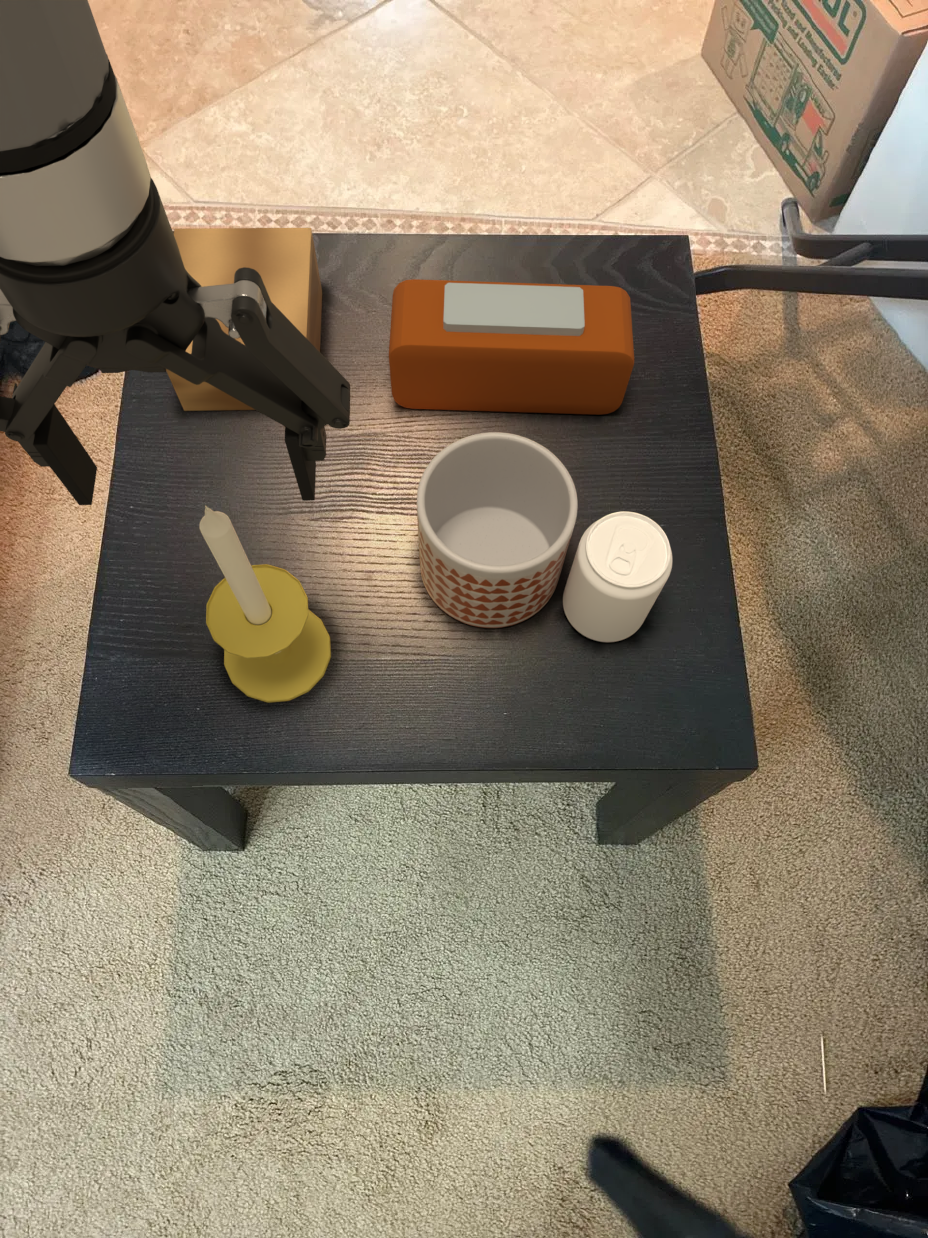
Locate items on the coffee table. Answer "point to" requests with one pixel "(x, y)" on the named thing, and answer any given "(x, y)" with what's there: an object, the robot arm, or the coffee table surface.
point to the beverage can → (616, 576)
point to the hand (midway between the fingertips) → (199, 484)
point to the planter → (494, 528)
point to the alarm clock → (510, 346)
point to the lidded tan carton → (284, 273)
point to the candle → (262, 621)
